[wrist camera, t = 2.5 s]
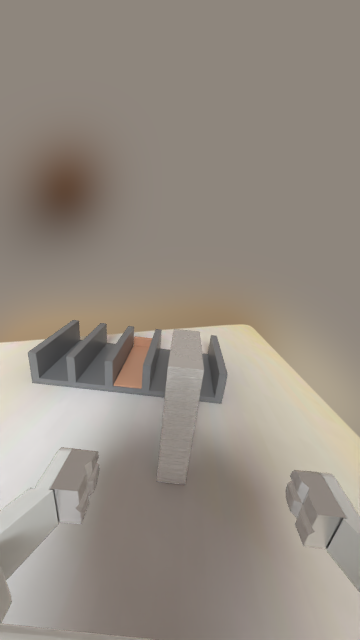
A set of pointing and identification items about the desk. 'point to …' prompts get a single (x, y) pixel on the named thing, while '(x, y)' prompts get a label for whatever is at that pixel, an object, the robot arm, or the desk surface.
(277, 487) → the desk surface
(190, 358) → the panel
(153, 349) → the rack
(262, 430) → the desk surface
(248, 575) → the desk surface
